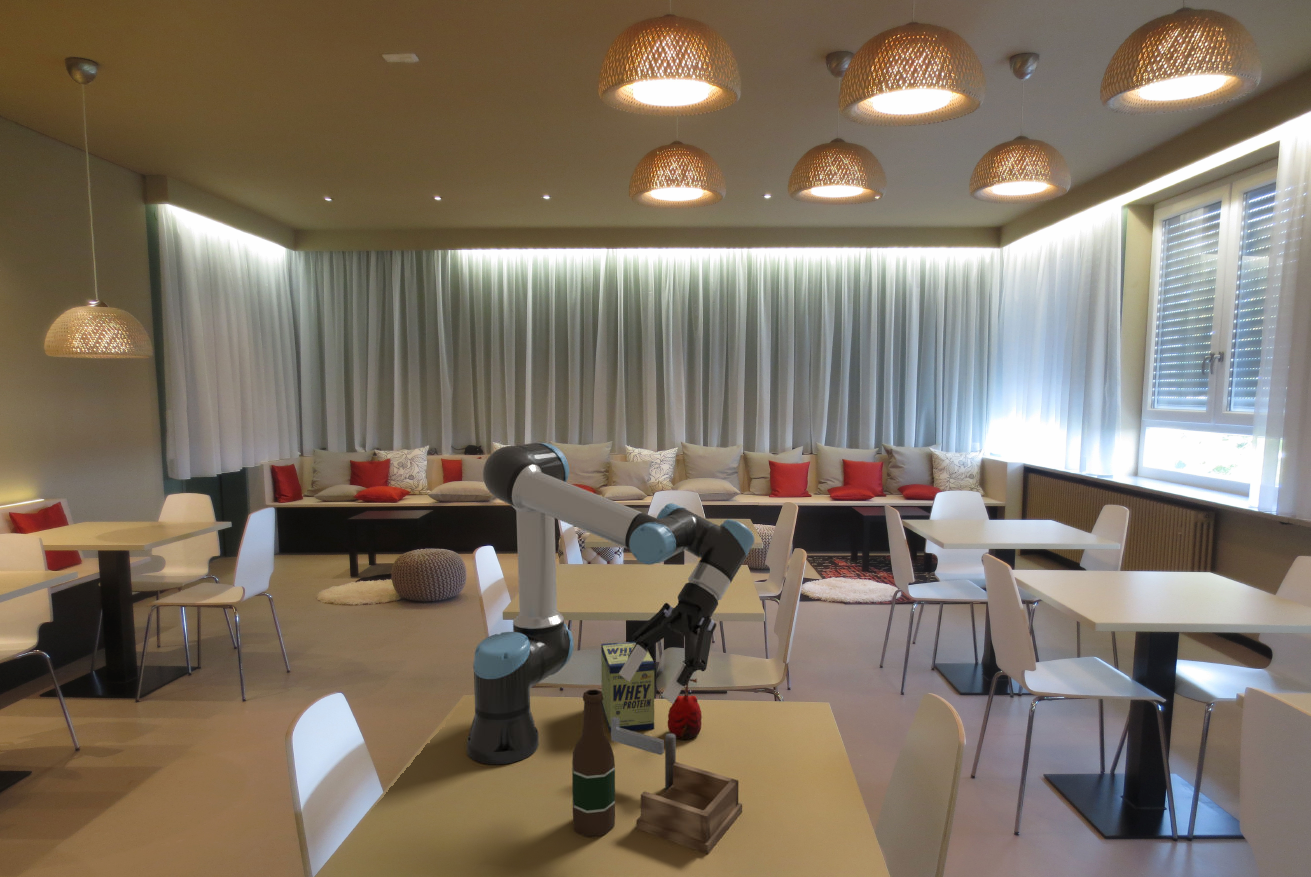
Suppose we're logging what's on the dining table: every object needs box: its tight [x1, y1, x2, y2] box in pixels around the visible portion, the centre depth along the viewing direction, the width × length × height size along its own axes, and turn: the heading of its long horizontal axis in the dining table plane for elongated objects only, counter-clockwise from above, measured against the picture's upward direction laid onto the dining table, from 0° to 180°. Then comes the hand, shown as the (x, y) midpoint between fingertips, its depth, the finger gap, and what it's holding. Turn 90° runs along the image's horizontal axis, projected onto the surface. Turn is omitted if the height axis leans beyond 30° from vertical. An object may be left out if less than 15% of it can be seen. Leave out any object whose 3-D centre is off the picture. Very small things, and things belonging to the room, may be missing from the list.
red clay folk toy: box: [667, 678, 703, 740], centre depth 160 cm, size 8×7×15 cm
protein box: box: [600, 641, 655, 734], centre depth 169 cm, size 10×16×16 cm
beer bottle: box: [571, 689, 616, 838], centre depth 126 cm, size 8×8×24 cm
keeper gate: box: [610, 716, 665, 756], centre depth 141 cm, size 12×1×4 cm, turn 60°
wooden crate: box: [635, 732, 743, 855], centre depth 129 cm, size 16×15×10 cm
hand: (644, 688), depth 132 cm, fingers open, 13 cm apart
